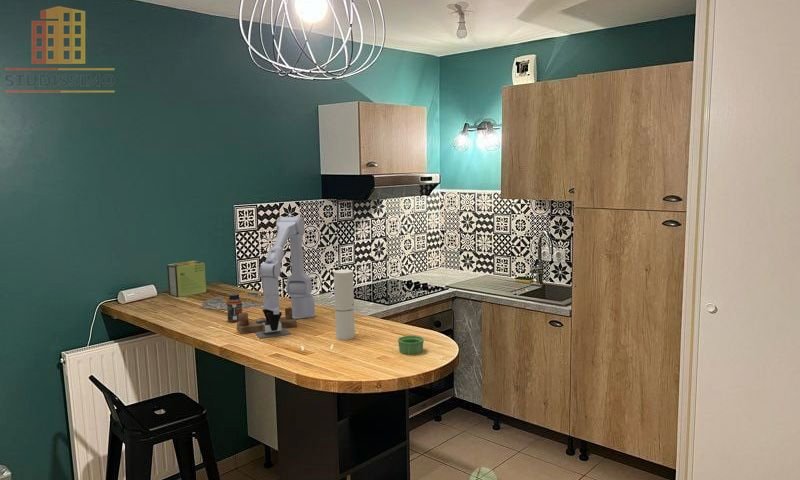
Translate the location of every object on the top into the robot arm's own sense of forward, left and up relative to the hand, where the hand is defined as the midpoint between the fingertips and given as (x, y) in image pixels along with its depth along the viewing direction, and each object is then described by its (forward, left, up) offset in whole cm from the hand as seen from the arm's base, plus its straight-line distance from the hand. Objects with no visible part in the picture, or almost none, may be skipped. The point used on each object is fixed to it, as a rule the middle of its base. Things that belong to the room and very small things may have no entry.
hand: (272, 328), depth 235 cm
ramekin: (-37, +45, -2) cm, 58 cm away
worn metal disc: (+1, -63, -2) cm, 63 cm away
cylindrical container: (-23, +18, -2) cm, 29 cm away
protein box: (+20, -94, -2) cm, 97 cm away
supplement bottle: (+9, -27, -2) cm, 29 cm away
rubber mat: (0, 0, -2) cm, 2 cm away
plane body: (0, -9, -2) cm, 10 cm away
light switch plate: (0, 0, 0) cm, 1 cm away
